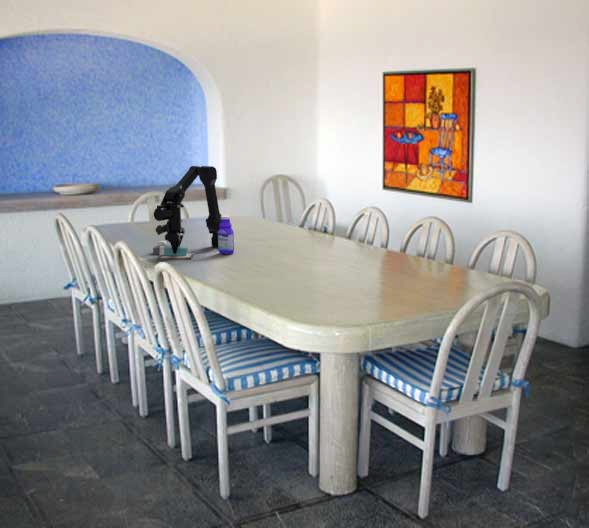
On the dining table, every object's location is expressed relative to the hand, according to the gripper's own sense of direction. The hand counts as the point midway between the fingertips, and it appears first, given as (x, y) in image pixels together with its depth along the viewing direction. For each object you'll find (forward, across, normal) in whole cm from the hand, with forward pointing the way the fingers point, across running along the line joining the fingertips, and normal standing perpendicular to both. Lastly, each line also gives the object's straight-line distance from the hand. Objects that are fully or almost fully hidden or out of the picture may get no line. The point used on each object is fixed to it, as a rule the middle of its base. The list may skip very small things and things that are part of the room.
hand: (175, 252), depth 347 cm
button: (0, -10, -8) cm, 13 cm away
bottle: (+2, -8, +22) cm, 24 cm away
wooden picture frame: (+2, 0, 0) cm, 2 cm away
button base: (+2, -10, -8) cm, 13 cm away
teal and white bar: (+1, 0, 0) cm, 1 cm away
